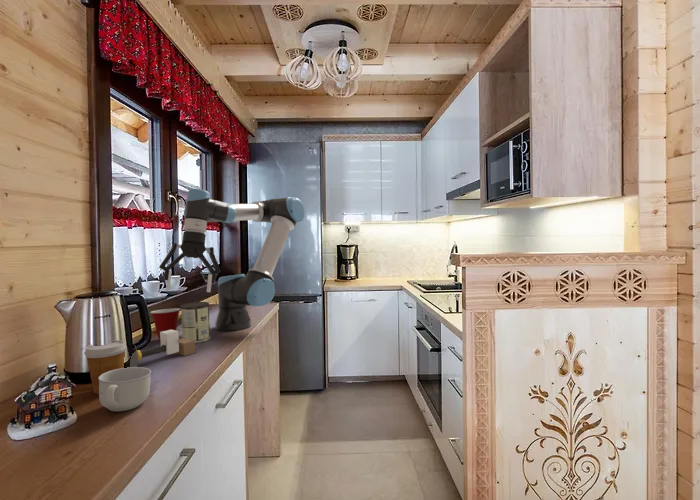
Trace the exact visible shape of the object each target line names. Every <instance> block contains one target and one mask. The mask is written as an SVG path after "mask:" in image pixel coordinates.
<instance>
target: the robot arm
mask: <svg viewBox="0 0 700 500" xmlns="http://www.w3.org/2000/svg"><path fill="white" fill-rule="evenodd" d="M210 194H211V193H210V192H209V190H208V191H207V190H206V189H201V188H191V189H189V190H188V192H187V196H186V200H185V201H186V203H185V205H186V206H185V207H184V210H183V216H184V224H183V230H184V231H183V232H182V233H183V234H182V241H181V242H182V243H181V244H179V243H175V242H174V243H171V244H172V245H171V249H170V250H169V252H168V253H167V254H166V256H165V257H164V259H163V260H162V262H161V264H159V267H158V268H159V269H160V270H162V271H164V274H163V280H164V281H166V287H165V290H166V291H170V288H171V280H172V271H170V270H171V269H172V268H174V267H175V266H176V265H177V264H178V263H179V262H180V261H181V260H182V259H184V258H192V259H193V258H194V259H199V260H200V261H201V262H202V263H203V265H204V266H205V268H206V269H207V270H208V272H209V274H208V276H207V283H206V293H211V292H212V291H211V289H212V284H214V283H215V279H216V278H215V277H216V275H217V274H219V273H220V274H221V268H220V265H219V263H218V260H217V259H216V255H215V252H214V251H215V248H214V247H213V246H210V247H206V238H207V237H206V236H207V235H206V233H207V226H208V225H207V224H208V223H214V222H217V223H218V222H220V223H225V224H226V223H227V224H230V223H232V222H234V221H252V222H255V223H260V222H261V223H270V224H271V226H270V228H269V230H268V232H267V235H266V237H265V240H264V242H263V244H262V246H261V249H260V251H259V254H258V256H257V258H256V262H255V264H254V265H253V267H252V268H250V269H248V271H247V273H246V274H245V273H240V274H239V273H238V274H234V275H225V276H220V277H219V278H218V280H217V294H218V313H217V316H216V321H215V323H214V324H215V330H217V331H224V332H225V331H227V332H229V331H230V332H231V331H238V330H239V331H240V330H244V329H248V328H250V327H252V320H251V318H250V315H249V312H248V309H247V306H252V307H264V306H266V305H268V304H270V303H271V302H272V300H273V299H274V297H275V293H276V289H275V286H276V285H275V283H274V281H275V279H274V277H273V273H274V271H275V268H276V266H277V264H278V262H279V258H280V256H281V255H282V251H283V249H284V246H285V244H286V240H287V238H288V237H289V233H290V231H293V230H294V229H295V227H296V225H297V223H300V222H302V221H303V220H304V219H305V215H306V214H305V213H306V211H305V207H304V204H303V202H302V201H301V200H300V199H299V198H298V197H296V196H293V197H292V196H288V197H282V198H272V199H266V200H258V201H253V202H251V203H228V202H224V201H220V200H216V199H213V198H211V195H210ZM179 249H180V250H181V252H182V253H181V254H179V255H178V256H177V257H176V258H175V259H174V260H172V262H171V263H169V264H168V262H169V261H170V259H171V258H172V257H173V255H174V254H175V252H176V251H178V250H179ZM205 252H206V253H207V254H208V255H209V258H210V260H211V261H208V259H207V258H206V257H205V255H204V253H205ZM210 262H211V264H212V265H211V264H210ZM167 264H168V265H167ZM166 265H167V266H166ZM212 266H213V267H212Z"/></svg>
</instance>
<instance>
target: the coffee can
mask: <svg viewBox="0 0 700 500" xmlns="http://www.w3.org/2000/svg"><path fill="white" fill-rule="evenodd" d="M209 305H210V302H208V301H193V302H186V303H182V304H181V305H180V311H181V312H180V314H181V330H182V331H181V332H182V333H181V334H182V338H186V339H190V340H194V341H195V344H197V343H203V342H206V341H209V340H210V339H211V326H210V325H211V324H210V307H209Z"/></svg>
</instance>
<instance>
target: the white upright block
mask: <svg viewBox="0 0 700 500" xmlns="http://www.w3.org/2000/svg"><path fill="white" fill-rule="evenodd" d="M179 339H180V338H179V331H178V330H177V329H176V330H167V331H163V332H160V341H159V343H160V346H164V345H166V351H165V352H161V353H160V354H164V353H166V355H167V356H168V355H172V354H177V353H176V352H179Z"/></svg>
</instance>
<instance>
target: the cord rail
mask: <svg viewBox="0 0 700 500" xmlns="http://www.w3.org/2000/svg"><path fill="white" fill-rule="evenodd" d="M134 346H135V348H136V351H135V352H134V353H133V354H132V356H131V359H130V367H138V362H139V361H141V360H142V359H143V358H146V357H150V356H153V355H157V354H162V353H161V352H164V353H166V352H165V351H166V345H164V346H161V345H160V346H157V347H152V348H149V349H146V350H141V349H138V350H137V346H136V345H134ZM195 353H196V343H195V341H194V340H190V339H186V338H183V337H181V338H179V352H176V353H175V354H177V355H180V356H188V355H192V354H195Z"/></svg>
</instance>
